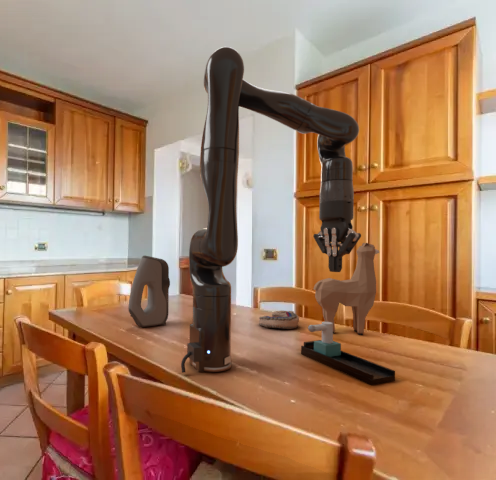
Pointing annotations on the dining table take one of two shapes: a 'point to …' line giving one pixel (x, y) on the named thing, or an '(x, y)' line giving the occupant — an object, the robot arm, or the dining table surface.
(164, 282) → the brown holed slab
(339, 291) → the toy
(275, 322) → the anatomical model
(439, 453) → the dining table surface
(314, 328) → the handle
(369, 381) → the rail
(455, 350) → the dining table surface
